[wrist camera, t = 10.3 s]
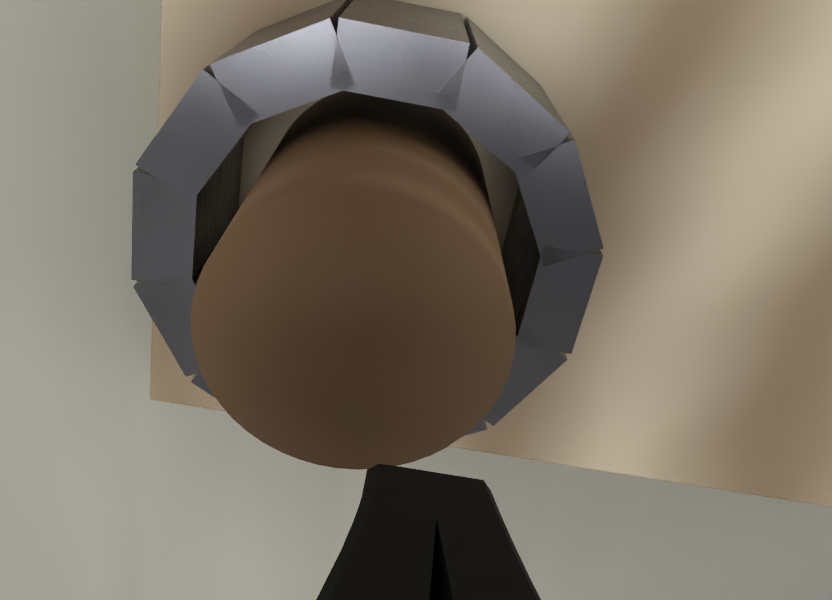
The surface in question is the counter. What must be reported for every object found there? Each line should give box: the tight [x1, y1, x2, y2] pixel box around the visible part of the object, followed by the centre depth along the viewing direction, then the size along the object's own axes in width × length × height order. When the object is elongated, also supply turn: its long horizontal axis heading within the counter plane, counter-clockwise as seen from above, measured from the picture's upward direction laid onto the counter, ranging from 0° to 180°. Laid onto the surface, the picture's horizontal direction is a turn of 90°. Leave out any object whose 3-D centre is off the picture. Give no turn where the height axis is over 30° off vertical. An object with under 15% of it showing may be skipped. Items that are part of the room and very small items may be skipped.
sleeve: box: [132, 0, 604, 436], centre depth 14 cm, size 8×8×4 cm
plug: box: [190, 90, 516, 469], centre depth 13 cm, size 4×4×6 cm
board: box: [150, 0, 832, 507], centre depth 16 cm, size 18×12×1 cm, turn 79°
